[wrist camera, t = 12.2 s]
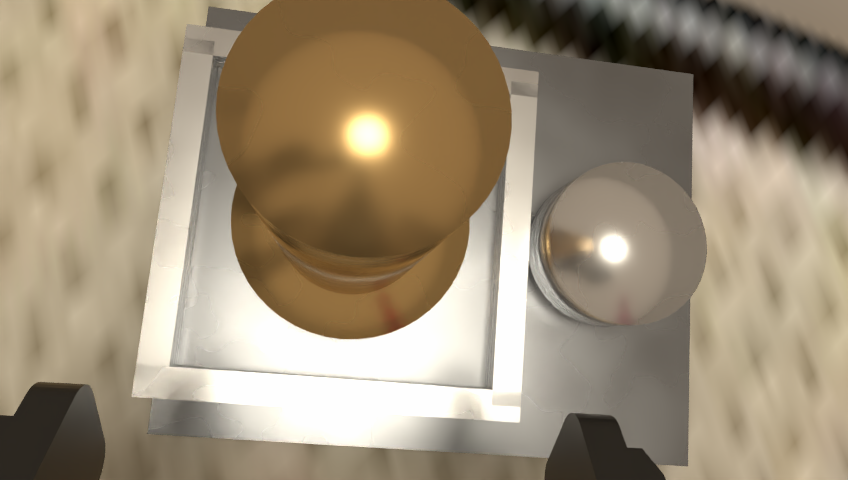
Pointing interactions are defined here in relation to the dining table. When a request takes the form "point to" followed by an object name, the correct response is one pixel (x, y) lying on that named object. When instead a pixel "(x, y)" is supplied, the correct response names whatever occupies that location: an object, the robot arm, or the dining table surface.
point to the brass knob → (359, 156)
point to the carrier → (469, 293)
